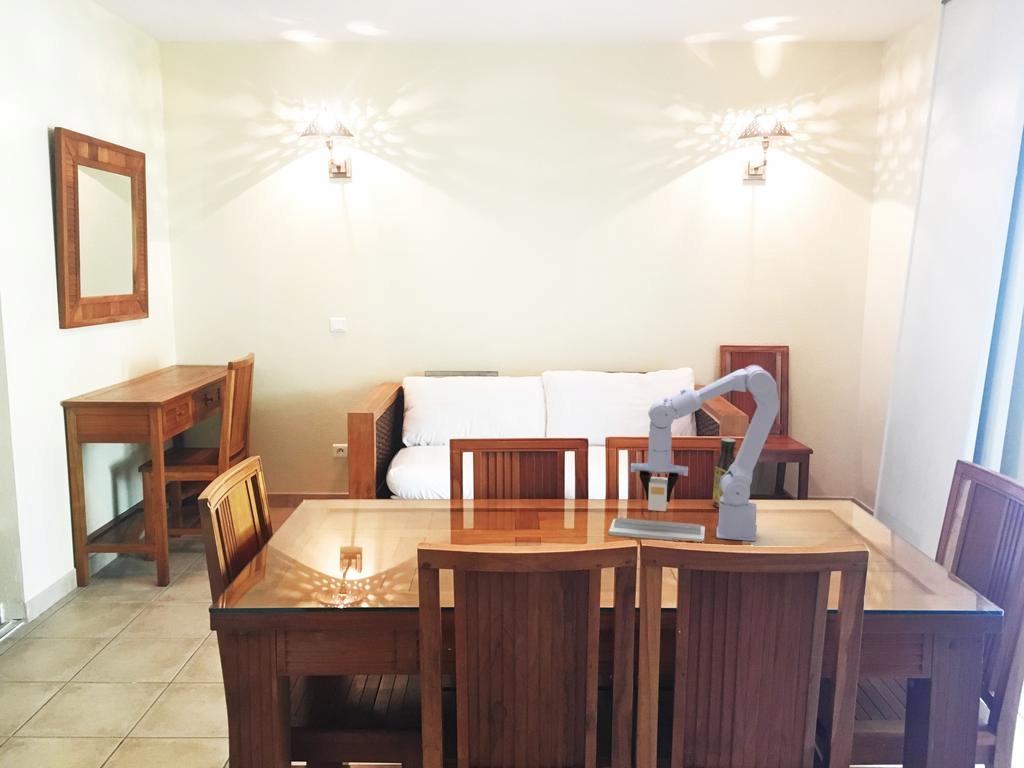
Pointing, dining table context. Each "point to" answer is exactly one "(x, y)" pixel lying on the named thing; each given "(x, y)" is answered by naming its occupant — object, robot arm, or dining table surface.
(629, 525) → the metal rail
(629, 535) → the board
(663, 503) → the block
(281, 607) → the dining table surface
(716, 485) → the sauce bottle
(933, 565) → the dining table surface
